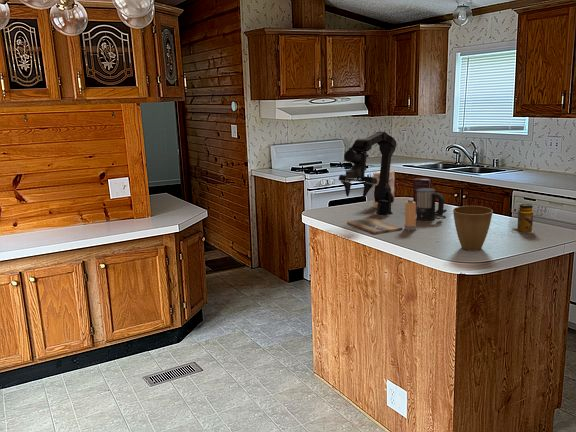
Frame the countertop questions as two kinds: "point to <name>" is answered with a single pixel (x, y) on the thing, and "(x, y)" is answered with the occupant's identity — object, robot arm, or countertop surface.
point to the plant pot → (472, 225)
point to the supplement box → (419, 187)
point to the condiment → (524, 219)
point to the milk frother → (428, 204)
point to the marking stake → (410, 215)
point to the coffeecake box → (391, 184)
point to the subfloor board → (374, 225)
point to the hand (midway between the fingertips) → (355, 197)
